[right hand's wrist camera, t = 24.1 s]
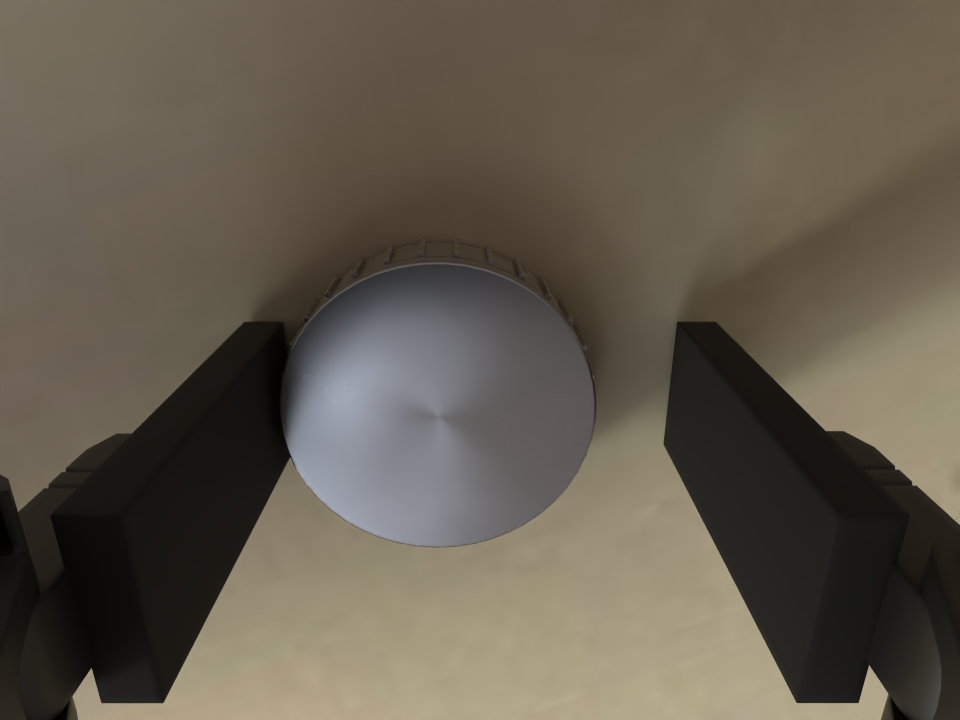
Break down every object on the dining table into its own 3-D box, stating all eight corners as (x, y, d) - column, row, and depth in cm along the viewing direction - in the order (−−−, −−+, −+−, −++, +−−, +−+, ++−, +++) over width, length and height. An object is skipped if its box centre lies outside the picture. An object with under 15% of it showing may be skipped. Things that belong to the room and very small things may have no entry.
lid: (580, 223, 13) (596, 241, 11) (587, 491, 15) (603, 537, 14) (267, 252, 13) (242, 274, 11) (321, 516, 15) (306, 564, 14)
